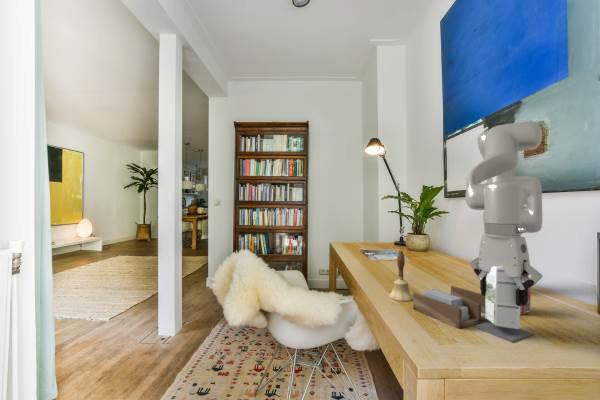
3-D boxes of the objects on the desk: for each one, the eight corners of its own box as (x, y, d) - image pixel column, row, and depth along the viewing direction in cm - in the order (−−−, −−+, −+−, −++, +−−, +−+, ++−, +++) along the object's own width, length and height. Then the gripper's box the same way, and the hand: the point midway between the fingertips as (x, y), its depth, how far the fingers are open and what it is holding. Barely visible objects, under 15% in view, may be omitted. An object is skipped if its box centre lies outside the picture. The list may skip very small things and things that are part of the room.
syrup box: (521, 329, 68) (523, 269, 68) (493, 326, 69) (496, 266, 70) (508, 321, 73) (510, 265, 74) (483, 318, 74) (485, 262, 75)
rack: (452, 300, 94) (452, 285, 94) (501, 317, 80) (500, 299, 80) (413, 309, 86) (413, 292, 86) (459, 328, 72) (459, 309, 73)
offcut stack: (432, 307, 88) (432, 288, 88) (469, 322, 77) (469, 300, 77) (420, 310, 86) (420, 290, 86) (457, 325, 75) (457, 302, 75)
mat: (495, 321, 77) (495, 319, 77) (533, 334, 69) (533, 333, 69) (474, 327, 73) (474, 325, 73) (512, 342, 65) (512, 340, 65)
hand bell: (383, 294, 100) (383, 249, 100) (403, 292, 102) (403, 249, 103) (398, 302, 92) (397, 253, 92) (419, 300, 94) (419, 252, 95)
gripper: (551, 233, 65) (552, 308, 65) (477, 227, 81) (477, 288, 81) (534, 234, 62) (535, 314, 62) (460, 228, 78) (460, 291, 78)
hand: (502, 299), depth 71 cm, fingers closed on syrup box, 7 cm apart
